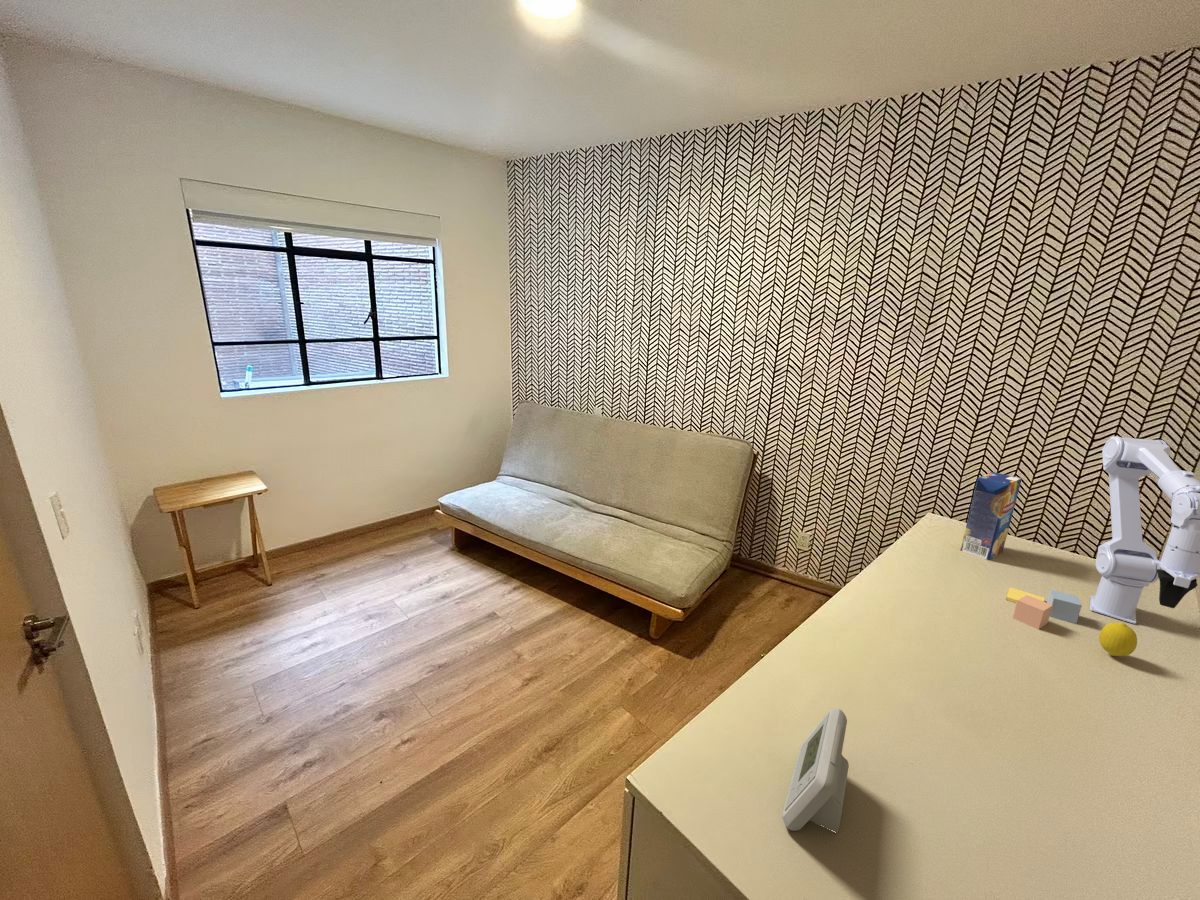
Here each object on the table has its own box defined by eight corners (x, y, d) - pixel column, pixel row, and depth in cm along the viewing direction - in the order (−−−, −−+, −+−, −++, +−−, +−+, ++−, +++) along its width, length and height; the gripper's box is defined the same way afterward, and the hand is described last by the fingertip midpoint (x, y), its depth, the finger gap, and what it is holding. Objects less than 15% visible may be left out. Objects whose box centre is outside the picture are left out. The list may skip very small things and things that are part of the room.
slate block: (1045, 607, 125) (1050, 589, 124) (1072, 614, 122) (1077, 596, 121) (1048, 616, 121) (1053, 598, 120) (1075, 623, 118) (1081, 605, 117)
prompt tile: (1009, 589, 132) (1010, 587, 132) (1043, 600, 128) (1044, 597, 127) (1005, 599, 128) (1006, 596, 127) (1041, 611, 123) (1042, 608, 123)
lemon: (1137, 666, 104) (1150, 633, 102) (1107, 662, 105) (1118, 629, 103) (1117, 649, 109) (1128, 617, 107) (1087, 645, 110) (1098, 614, 108)
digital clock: (804, 745, 82) (813, 692, 79) (863, 780, 76) (875, 723, 73) (759, 813, 70) (768, 753, 68) (824, 860, 65) (837, 797, 62)
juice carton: (988, 560, 149) (1008, 485, 142) (960, 550, 154) (977, 477, 148) (1002, 550, 155) (1022, 478, 149) (975, 541, 161) (992, 471, 155)
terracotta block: (1021, 612, 122) (1027, 594, 121) (1047, 623, 118) (1052, 605, 117) (1012, 618, 120) (1017, 600, 118) (1038, 629, 115) (1043, 610, 114)
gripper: (1156, 532, 112) (1138, 587, 115) (1161, 551, 102) (1141, 610, 105) (1204, 543, 107) (1184, 599, 110) (1214, 563, 97) (1191, 624, 100)
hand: (1166, 605), depth 107 cm, fingers closed
